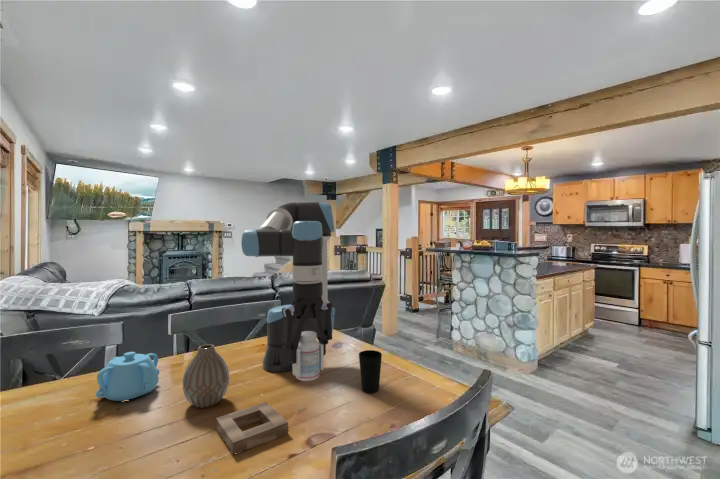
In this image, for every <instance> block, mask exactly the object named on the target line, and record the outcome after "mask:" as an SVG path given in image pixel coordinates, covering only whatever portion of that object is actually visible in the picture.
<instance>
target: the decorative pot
mask: <svg viewBox="0 0 720 479" xmlns="http://www.w3.org/2000/svg"><path fill="white" fill-rule="evenodd" d="M151 357H153V360H152V358H151ZM158 363H159V356H158V355H157V354H156V353H153V352H150V353H147V354H144V353H136V351H128V352H125V353H123V356H114V357H112V358H111V359H110V360H109V362H108V363H107V365H106V366H105V367H103V368H102V369H100V371H99V372H97V375H96V379H97V384H98V385H99V386H98V387H99V388H98V389H97V390H96V392H95V397H96V398H98V399H102V398H105V399H107V400H110V401H115V402H116V401H117V402H121V401H124V400H129V399H131V400H133V399H134V398H138V397H141V396H144V395H146V394H149V393H150V392H152V391H153V390H154V389H155V388H156V387H157V385H158V383H159V382H160V381H159V380H160V378H159V374H160V370H159V369H158V368H157V366H158ZM148 392H149V393H148Z"/></svg>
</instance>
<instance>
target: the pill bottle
mask: <svg viewBox="0 0 720 479" xmlns="http://www.w3.org/2000/svg"><path fill="white" fill-rule="evenodd" d="M318 342H319V341H318V340H317V335H316V332H314V331H303V332H302V333H301V337H300V341H299V345H298V349H299V350H300V369H301V377H297V376H295V379H297V380H298V381H302V382H307V381H308V382H309V381H314V380H316V379H318V378H319V377H320V371H321V370H320V359H319V343H318Z"/></svg>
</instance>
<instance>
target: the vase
mask: <svg viewBox="0 0 720 479" xmlns="http://www.w3.org/2000/svg"><path fill="white" fill-rule="evenodd" d="M229 384H230V371H229V367H228V364H227V362H226V360H225V359H224V358H223V356H221V355H220V353H218V351H217V350H216V348H215V345H214V344H208V343H206V344H202V345H199V346H198V349H197V352H196V353H195V355H193V357H192V358H191V360H190V361H189V363H188V365H187V367H186V368H185V371H184V373H183V379H182V391H183V394H184V398H185V399H186V400H187V401H188V403H190V404H191V405H192V406H194V407H196V408H198V407H200V408H199V409H204V407H206V408H210V407H213V406H215V405H216V404H218V403H219V402H220V401H221V400H222V399H223V397H224V396H225V395H226V392H227V390H228V388H229ZM212 405H213V406H212ZM209 406H210V407H209Z"/></svg>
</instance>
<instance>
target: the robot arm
mask: <svg viewBox="0 0 720 479" xmlns="http://www.w3.org/2000/svg"><path fill="white" fill-rule="evenodd" d="M335 230H336V229H335V221H334V216H333V210H332V205H331V204H330V203H329V202H321V201H318V202H316V201H315V202H309V201H308V202H295V201H293V202H288V203H284V204H280V205H278V206H276V207H274V208H273V209H272V210H270V212H269V213H268V214H267V216H266V220H265V221H264V222H263V223H262V224H261V226H260V227H259V228H258V229H255V228H252V229H246V230H243V232H242V235H241V249H242V250H241V251H242V254H243V255H245V256H246V257H255V258H258V257H292V281H294V282H293V284H292V297H293V298H292V300H293V301H292V304H284V305H278V306H275V307H272V308H271V309H269V310H268V311H267V315H266V316H267V317H266V325H267V326H266V329H267V330H266V332H267V333H266V342H267V343H266V344H267V346H266V350H265V353H264V357H263V359H262V368H263V370H265V371H268V372H271V373H283V372H289V371H292V375H293V376H295V377H296V376H297V377H301V369H300V350H299V349H298V345H299V341H300V337H301V333H302V332H303V331H314V332H316V335H317V338H316V340H317V342H318V343H319V359H320V371H324V367H325V366H324V364H325V363H324V358H325V357H324V356H325V355H326V353H327V347H326V346H327V345H328V344H329V341H331V340H333V330H334V324H335V314H336V309H335V308H334V307H332V306H333V303H332V302H330V301H329V300H328V298H329V296H328V295H329V294H328V293H329V292H328V240H329V239H331V237H332V233H334V232H335Z"/></svg>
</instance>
